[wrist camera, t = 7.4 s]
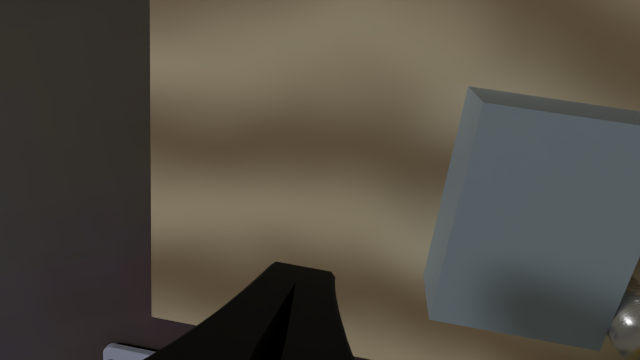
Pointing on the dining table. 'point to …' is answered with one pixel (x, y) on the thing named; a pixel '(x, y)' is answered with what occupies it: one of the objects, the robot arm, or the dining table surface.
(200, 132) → the board
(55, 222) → the dining table surface
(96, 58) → the dining table surface
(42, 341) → the dining table surface
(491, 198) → the bevelled grey block
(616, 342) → the bench dogs
